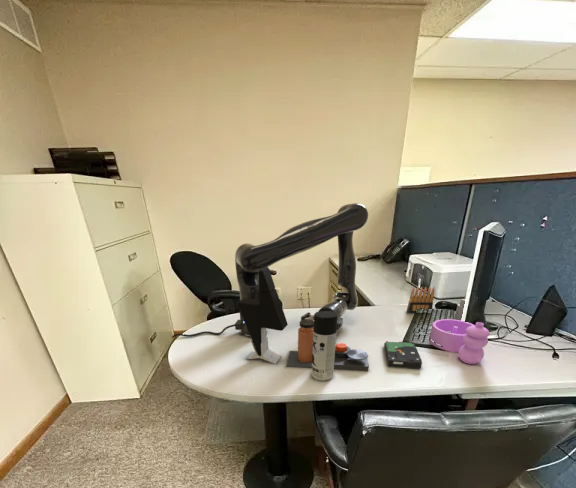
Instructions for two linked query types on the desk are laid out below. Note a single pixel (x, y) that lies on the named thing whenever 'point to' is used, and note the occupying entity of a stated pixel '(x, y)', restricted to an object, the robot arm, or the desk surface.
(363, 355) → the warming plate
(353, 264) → the robot arm
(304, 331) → the orange bottle
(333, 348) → the spray can
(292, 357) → the plate
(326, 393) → the desk surface
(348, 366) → the grey base plate
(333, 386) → the desk surface
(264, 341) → the award
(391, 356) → the disk drive
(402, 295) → the desk surface
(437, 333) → the container set
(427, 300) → the ammunition clip
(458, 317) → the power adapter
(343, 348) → the power button
